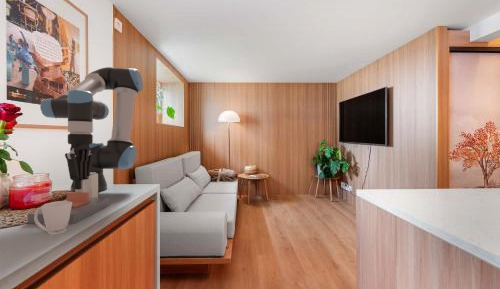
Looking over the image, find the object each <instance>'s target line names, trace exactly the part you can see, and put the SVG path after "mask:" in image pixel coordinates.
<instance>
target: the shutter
mask: <svg viewBox="0 0 500 289" xmlns="http://www.w3.org/2000/svg"><path fill="white" fill-rule="evenodd" d="M66 199H67V201H70V202H72V207H71V208H77V207H79V206H82V205H84V204H86V203H88V202H90V200H89V192H71V191H68V192H66Z"/></svg>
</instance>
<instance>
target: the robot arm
mask: <svg viewBox="0 0 500 289" xmlns="http://www.w3.org/2000/svg"><path fill="white" fill-rule="evenodd" d="M143 87H144V84H143V78H142V75H141V72H140V71H139V69H136V68H131V67H126V68H125V67H110V66H108V67H102V68H98V69H96V70H94V71H92V72H89V73H88V74H87V75H86V76H84V79H83V80H81V81H80V82H79V83H77V84H75V85H73V87H71V88H70V89H68V90H67V91H65V92H64V93H62V94H60V95H59V96H58V97H56V98H44V99H42V100H41V102H40V111H41V113H42V115H43V116H44V117H45V118H50V119H51V118H52V119H67V132H68V134H67V144H68V145H70V148H69V152H68V153H67V152H66V153H65V154H64V157H65V159H66V162H67V168H68V172H69V174H68V175H69V179H70V180H71V181H72V182H71V184H70V192H85V186H86V185H85V184H86V179H89V176H90V172H96V174H98V192H102V191H104V190H107V189H108V184H107V181H106V177H105V174H104V170H128V169H130V168H133V165H134V164H135V162H136V158H137V148H136V146H135V145H134V142H133V141H132V140H131V135H132V127H133V126H132V125H133V115H134V108H135V98H136V97H138V95H139V92H142V91H143V89H144V88H143ZM104 90H107V91H109V90H112V91H113V92H114V93H115V94H116V97H115V104H114V113H113V121H112V127H111V128H112V129H111V137H110V138H109V139H108V140H107V143H106V145H104V143H103V142H94V139H93V137H94V135H93V134H92V133H94V132H93V130H94V126H93V125H94V124H93V121H94V120H98V121H99V120H104V119H106V118H108V115H109V114H110V110H109V107H108V105H107V104H106V103H104V102H102V101H100V100H95V99H94V96H95V95H96V94H97V93H100V92H101V93H102V92H103V91H104Z"/></svg>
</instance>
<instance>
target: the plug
mask: <svg viewBox="0 0 500 289" xmlns="http://www.w3.org/2000/svg"><path fill="white" fill-rule="evenodd" d="M85 185H86V186H85V192H89V198H99V191H98V174H96V172H90V176H89V179H86V184H85Z"/></svg>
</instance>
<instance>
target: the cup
mask: <svg viewBox="0 0 500 289" xmlns="http://www.w3.org/2000/svg"><path fill="white" fill-rule="evenodd" d="M71 207H72V202H70V201H64V200H58V201H52V202H46V203H44V204H42V205H41V206H40V207H38V208H37V209H36V210H34V211H35V215H34V220H35V223H36V226H37V227H39V228H40V229H41V230H43V231H44V232H47V234H48V235H52V236H53V235H60V234H62V233H66V231H67V230H68V228H66V227H68V225H69V224H68V222H69V218H70V212H71ZM40 209H42V212H43V217H44V222H45V224H40V223H39V221H38V218H37V216H38V211H39V210H40ZM44 225H45V226H44Z"/></svg>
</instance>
